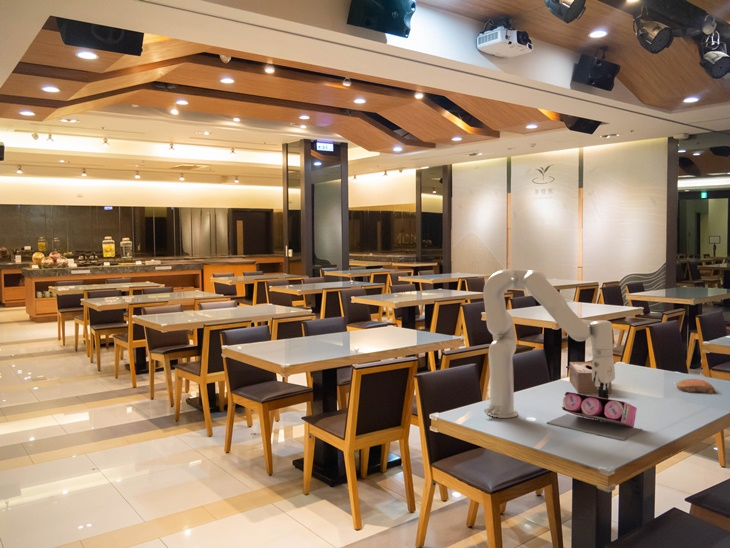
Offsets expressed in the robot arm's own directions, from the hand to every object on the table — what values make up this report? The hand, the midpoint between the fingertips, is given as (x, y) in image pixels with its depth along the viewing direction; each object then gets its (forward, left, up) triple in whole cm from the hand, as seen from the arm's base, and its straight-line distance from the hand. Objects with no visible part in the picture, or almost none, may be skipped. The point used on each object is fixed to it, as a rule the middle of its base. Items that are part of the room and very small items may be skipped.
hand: (603, 399), depth 230 cm
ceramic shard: (+79, -6, -10) cm, 79 cm away
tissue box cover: (+51, +32, -10) cm, 61 cm away
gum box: (+3, 0, -6) cm, 6 cm away
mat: (-7, +1, -9) cm, 12 cm away
